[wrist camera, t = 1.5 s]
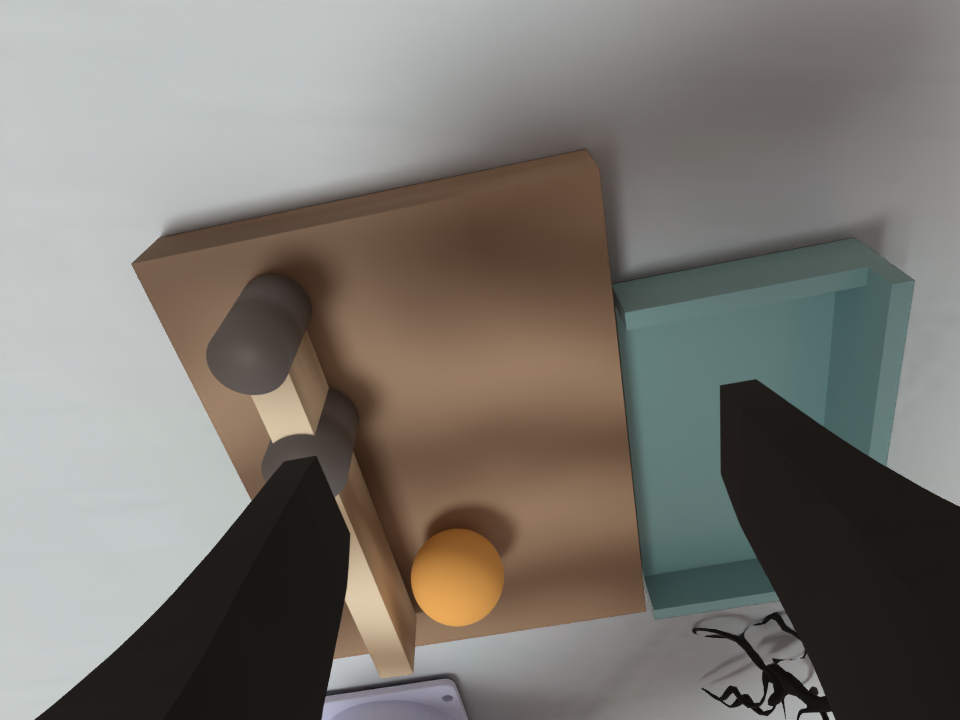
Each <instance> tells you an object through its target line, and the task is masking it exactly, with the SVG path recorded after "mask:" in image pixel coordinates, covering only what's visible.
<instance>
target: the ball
mask: <svg viewBox="0 0 960 720" xmlns="http://www.w3.org/2000/svg"><path fill="white" fill-rule="evenodd" d="M411 585H412V590H413V594H414V597H415V599H416V601H417V603H418V605H419V606H420V608H421V609H422V610H423V611H424V612H425V613H426V614H427V615H428V616H429V617H430V618H432V619H433V620H435V621H437V622H439V623H441V624H444V625H448V626H466V625H470V624H473V623H475V622H477V621H479V620H481V619H483V618H484V617H485V616H486V615H488V614H489V613H490V612H491V610H492V609H493V608H494V607H495V605H496V604H497V602H498V600H499V598H500V596H501V593H502V590H503V585H504V570H503V564H502V561H501V558H500V556H499V554H498V552H497V550H496V549H495V547H494V546H493V545H492V544H491V543H490V542H489V541H488V540H487V539H486V538H485V537H483V536H482V535H480V534H478V533H476V532H474V531H471V530H467V529H449V530H445V531H442V532H440V533H438V534H436V535H434V536H432V537H431V538H430V539H429V540H427V541H426V542H425V543H424V544H423V546H422V547H421V548H420V550H419V551H418V553H417V555H416V557H415V559H414V562H413V566H412V571H411Z"/></svg>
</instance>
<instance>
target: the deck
mask: <svg viewBox="0 0 960 720" xmlns="http://www.w3.org/2000/svg"><path fill="white" fill-rule="evenodd" d="M131 265H132V266H133V268H134V270H135V272H136V274H137V276H138V278H139V280H140V282H141V284H142V286H143V288H144V290H145V292H146V294H147V296H148V298H149V300H150V302H151V304H152V306H153V308H154V310H155V312H156V314H157V316H158V318H159V319H160V321H161V323H162V325H163V327H164V329H165V331H166V333H167V335H168V337H169V339H170V341H171V343H172V345H173V347H174V349H175V351H176V353H177V355H178V357H179V359H180V361H181V363H182V365H183V367H184V369H185V371H186V372H187V374H188V376H189V378H190V380H191V382H192V384H193V386H194V388H195V390H196V392H197V394H198V396H199V398H200V400H201V402H202V404H203V406H204V408H205V410H206V412H207V414H208V416H209V418H210V420H211V422H212V424H213V426H214V427H215V429H216V431H217V433H218V435H219V437H220V439H221V441H222V443H223V445H224V447H225V449H226V451H227V453H228V455H229V457H230V459H231V461H232V463H233V465H234V467H235V469H236V471H237V473H238V475H239V477H240V479H241V480H242V482H243V484H244V486H245V488H246V490H247V492H248V494H249V496H250V498H251V500H253V499H254V497H255V496H256V495H257V494H258V492H259V491H260V490H261V489H262V487H263V486H264V485H265V484H266V482H265V480H264V478H263V476H262V471H261V465H262V461H263V458H264V455H265V453H266V450H267V447H268V445H269V442H270V440H271V438H270V436H269V434H268V431H267V429H266V427H265V425H264V423H263V421H262V418H261V416H260V414H259V412H258V410H257V407H256V405H255V403H254V401H253V399H252V397H251V395H246V394H241V393H238V392H235V391H233V390H231V389H229V388H227V387H225V386H224V385H222V384H221V383H220V382H219V381H218V380H217V379H216V378H215V377H214V375H213V374H212V373H211V371H210V369H209V367H208V364H207V360H206V350H207V346H208V344H209V342H210V340H211V339H212V337H213V336H214V334H215V333H216V331H217V329H218V328H219V326H220V325H221V323H222V322H223V320H224V319H225V317H226V316H227V314H228V312H229V311H230V309H231V308H232V306H233V305H234V303H235V302H236V300H237V298H238V297H239V295H240V294H241V292H242V291H243V289H244V288H245V286H246V285H247V284H248V283H249V282H250V281H251V280H253V279H255V278H257V277H259V276H263V275H279V276H283V277H286V278H289V279H291V280H293V281H294V282H296V283H297V284H298V285H300V286H301V287H302V288H303V290H304V291H305V292H306V294H307V295H308V297H309V299H310V302H311V306H312V314H311V319H310V321H309V324H308V326H307V332H308V334H309V337H310V340H311V342H312V345H313V347H314V350H315V353H316V355H317V358H318V361H319V363H320V366H321V368H322V371H323V374H324V376H325V379H326V381H327V384H328V387H329V388H331V389H334V390H336V391H339V392H340V393H342V394H344V395H345V396H346V397H348V398H349V399H350V400H351V401H352V403H353V404H354V405H355V407H356V409H357V411H358V414H359V426H358V431H357V435H356V440H355V445H354V450H353V452H354V455H355V457H356V460H357V463H358V465H359V468H360V470H361V473H362V476H363V478H364V481H365V483H366V486H367V489H368V491H369V494H370V497H371V499H372V502H373V504H374V507H375V510H376V512H377V515H378V517H379V520H380V523H381V525H382V528H383V530H384V533H385V536H386V538H387V541H388V544H389V546H390V549H391V551H392V554H393V557H394V559H395V562H396V564H397V567H398V570H399V572H400V575H401V578H402V580H403V583H404V585H405V588H406V591H407V593H408V596H409V598H410V601H411V604H412V606H413V609H414V612H415V614H416V617H417V622H416V638H415V647H416V646H423V645H429V644H436V643H442V642H449V641H455V640H462V639H468V638H475V637H482V636H488V635H495V634H501V633H508V632H514V631H521V630H527V629H534V628H541V627H547V626H554V625H560V624H567V623H573V622H580V621H586V620H593V619H600V618H606V617H613V616H619V615H626V614H632V613H639V612H645V611H646V605H645V596H644V587H643V577H642V568H641V558H640V549H639V539H638V530H637V520H636V511H635V501H634V492H633V483H632V473H631V464H630V454H629V445H628V435H627V426H626V416H625V407H624V397H623V388H622V379H621V369H620V360H619V350H618V341H617V331H616V322H615V312H614V303H613V294H612V284H611V275H610V265H609V256H608V246H607V237H606V227H605V218H604V208H603V199H602V190H601V180H600V171H599V167H598V165H597V164H596V162H595V161H594V159H593V158H592V156H591V155H590V153H589V152H588V150H587V149H584V150H579V151H574V152H570V153H565V154H560V155H555V156H550V157H546V158H541V159H536V160H531V161H526V162H522V163H517V164H512V165H507V166H502V167H498V168H493V169H488V170H483V171H478V172H473V173H469V174H464V175H459V176H454V177H449V178H445V179H440V180H435V181H430V182H425V183H421V184H416V185H411V186H406V187H401V188H396V189H392V190H387V191H382V192H377V193H372V194H368V195H363V196H358V197H353V198H348V199H344V200H339V201H334V202H329V203H324V204H320V205H315V206H310V207H305V208H300V209H295V210H291V211H286V212H281V213H276V214H271V215H267V216H262V217H257V218H252V219H247V220H243V221H238V222H233V223H228V224H223V225H219V226H214V227H209V228H204V229H199V230H194V231H190V232H185V233H180V234H175V235H170V236H166V237H161V238H158V239H157V240H156V241H155V242H154V243H153V244H152V245H151V246H150V247H149V248H148V249H147V250H146V251H145V252H143V253H142V254H141V255H140V256H139V257H138V258H137V259H136V260H135V261H134V262H133V263H132V264H131ZM449 529H467V530H471V531H474V532H476V533H478V534H480V535H482V536H483V537H485V538H486V539H487V540H488V541H489V542H490V543H491V544H492V545H493V546H494V547H495V549H496V550H497V552H498V554H499V556H500V558H501V561H502V564H503V570H504V585H503V590H502V593H501V596H500V598H499V600H498V602H497V604H496V605H495V607H494V608H493V609H492V610H491V612H490V613H489V614H488V615H486V616H485V617H484V618H483V619H481V620H479V621H477V622H475V623H473V624H470V625H466V626H448V625H444V624H441V623H439V622H437V621H435V620H433V619H432V618H430V617H429V616H428V615H427V614H426V613H425V612H424V611H423V610H422V609H421V608H420V606H419V605H418V603H417V601H416V599H415V597H414V594H413V590H412V585H411V571H412V566H413V562H414V559H415V557H416V555H417V553H418V551H419V550H420V548H421V547H422V546H423V544H424V543H425V542H426V541H427V540H429V539H430V538H431V537H432V536H434V535H436V534H438V533H440V532H442V531H445V530H449ZM364 654H369V651H368V649H367V647H366V645H365V643H364V640H363V638H362V636H361V634H360V632H359V630H358V627H357V625H356V623H355V621H354V619H353V616H352V614H351V612H350V610H349V608H348V606H347V603H346V601H344V607H343V612H342V617H341V622H340V627H339V632H338V637H337V642H336V647H335V652H334V657H333V659H337V658H344V657H351V656H357V655H364Z"/></svg>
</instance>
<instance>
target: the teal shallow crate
mask: <svg viewBox="0 0 960 720" xmlns="http://www.w3.org/2000/svg"><path fill="white" fill-rule="evenodd" d="M914 282H915V280H914V279H912V278H911V277H909V276H908V275H906V274H905V273H904V272H902V271H901V270H899V269H898V268H897V267H895V266H894V265H892V264H891V263H890V262H888V261H887V260H885V259H884V258H882V257H881V256H880V255H878V254H877V253H875V252H874V251H873V250H871V249H870V248H868V247H867V246H866V245H864V244H863V243H861V242H860V241H858V240H857V239H856V238H851V239H845V240H840V241H835V242H830V243H824V244H819V245H814V246H809V247H804V248H798V249H793V250H788V251H783V252H777V253H772V254H767V255H762V256H757V257H751V258H746V259H741V260H736V261H730V262H725V263H720V264H715V265H710V266H704V267H699V268H694V269H689V270H683V271H678V272H673V273H668V274H663V275H657V276H652V277H647V278H642V279H636V280H631V281H626V282H621V283H616V284H612V294H613V303H614V312H615V322H616V331H617V341H618V350H619V360H620V369H621V379H622V388H623V397H624V407H625V416H626V426H627V435H628V445H629V454H630V464H631V473H632V483H633V492H634V501H635V511H636V520H637V530H638V539H639V549H640V558H641V568H642V577H643V582H644V586H645V589H646V593H647V596H648V599H649V603H650V606H651V609H652V613H653V616H654V620H657V619H663V618H670V617H676V616H683V615H690V614H696V613H703V612H709V611H716V610H723V609H729V608H736V607H742V606H749V605H756V604H762V603H769V602H775V601H780V600H779V598H778V596H777V594H776V593H775V591H774V589H773V587H772V585H771V583H770V581H769V579H768V578H767V576H766V574H765V572H764V570H763V568H762V566H761V564H760V563H759V561H758V559H757V557H756V555H755V553H754V551H753V549H752V547H751V545H750V544H749V542H748V540H747V538H746V536H745V534H744V532H743V530H742V528H741V526H740V524H739V521H738V519H737V516H736V514H735V511H734V509H733V506H732V503H731V501H730V498H729V495H728V493H727V490H726V487H725V484H724V482H723V479H722V476H721V462H720V385H725V384H730V383H736V382H742V381H748V380H753V379H757V380H758V381H760V382H761V383H763V384H764V385H765V386H767V387H768V388H770V389H771V390H772V391H774V392H775V393H777V394H778V395H779V396H781V397H782V398H784V399H785V400H786V401H788V402H789V403H791V404H792V405H794V406H795V407H796V408H798V409H799V410H801V411H802V412H803V413H805V414H806V415H808V416H809V417H811V418H812V419H813V420H815V421H816V422H818V423H819V424H821V425H822V426H823V427H825V428H826V429H828V430H829V431H831V432H832V433H834V434H835V435H837V436H838V437H840V438H841V439H843V440H844V441H846V442H848V443H849V444H851V445H852V446H854V447H855V448H857V449H858V450H860V451H861V452H863V453H865V454H866V455H868V456H870V457H871V458H873V459H874V460H876V461H878V462H879V463H881V464H883V465H884V466H886V464H887V458H888V451H889V445H890V438H891V432H892V425H893V419H894V412H895V406H896V399H897V393H898V386H899V380H900V373H901V367H902V360H903V354H904V347H905V341H906V334H907V328H908V321H909V315H910V308H911V302H912V295H913V289H914Z"/></svg>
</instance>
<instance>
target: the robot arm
mask: <svg viewBox="0 0 960 720" xmlns="http://www.w3.org/2000/svg"><path fill="white" fill-rule="evenodd" d="M720 462H721V476H722V479H723V482H724V484H725V487H726V490H727V493H728V495H729V498H730V501H731V503H732V506H733V509H734V511H735V514H736V516H737V519H738V521H739V524H740V526H741V528H742V530H743V532H744V534H745V536H746V538H747V540H748V542H749V544H750V545H751V547H752V549H753V551H754V553H755V555H756V557H757V559H758V561H759V563H760V564H761V566H762V568H763V570H764V572H765V574H766V576H767V578H768V579H769V581H770V583H771V585H772V587H773V589H774V591H775V593H776V594H777V596H778V598H779V600H780V602H781V604H782V606H783V608H784V609H785V611H786V613H787V615H788V617H789V619H790V621H791V622H792V624H793V626H794V628H795V630H796V632H797V634H798V636H799V637H800V639H801V641H802V643H803V646H804V648H805V650H806V652H807V654H808V656H809V658H810V660H811V662H812V664H813V666H814V669H815V671H816V674H817V676H818V678H819V681H820V683H821V686H822V688H823V690H824V693H825V695H826V698H827V700H828V702H829V705H830V707H831V710H832V712H833V715H834V717H835V719H836V720H960V507H959V506H957V505H955V504H953V503H951V502H949V501H947V500H945V499H943V498H941V497H939V496H937V495H935V494H934V493H932V492H930V491H928V490H926V489H924V488H922V487H921V486H919V485H917V484H915V483H913V482H912V481H910V480H908V479H907V478H905V477H903V476H901V475H900V474H898V473H896V472H895V471H893V470H891V469H889V468H888V467H886V466H884V465H883V464H881V463H879V462H878V461H876V460H874V459H873V458H871V457H870V456H868V455H866V454H865V453H863V452H861V451H860V450H858V449H857V448H855V447H854V446H852V445H851V444H849V443H848V442H846V441H844V440H843V439H841V438H840V437H838V436H837V435H835V434H834V433H832V432H831V431H829V430H828V429H826V428H825V427H823V426H822V425H821V424H819V423H818V422H816V421H815V420H813V419H812V418H811V417H809V416H808V415H806V414H805V413H803V412H802V411H801V410H799V409H798V408H796V407H795V406H794V405H792V404H791V403H789V402H788V401H786V400H785V399H784V398H782V397H781V396H779V395H778V394H777V393H775V392H774V391H772V390H771V389H770V388H768V387H767V386H765V385H764V384H763V383H761V382H760V381H758V380H757V379H753V380H748V381H742V382H736V383H730V384H725V385H720ZM349 554H350V532H349V529H348V527H347V525H346V523H345V520H344V518H343V516H342V513H341V511H340V509H339V506H338V504H337V502H336V500H335V497H334V495H333V493H332V490H331V488H330V486H329V483H328V481H327V479H326V476H325V474H324V472H323V470H322V467H321V465H320V463H319V460H318V458H317V456H311V457H305V458H299V459H294V460H288V461H284V462H283V463H282V464H281V466H280V467H279V468H278V469H277V470H276V471H275V473H274V474H273V475H272V476H271V477H270V479H269V480H268V481H267V482H266V484H265V485H264V486H263V487H262V489H261V490H260V491H259V492H258V494H257V495H256V496H255V497H254V499H253V500H252V501H251V502H250V504H249V505H248V506H247V508H246V509H245V510H244V511H243V513H242V514H241V515H240V516H239V517H238V519H237V520H236V521H235V522H234V524H233V525H232V526H231V527H230V528H229V530H228V531H227V532H226V533H225V535H224V536H223V537H222V538H221V539H220V541H219V542H218V543H217V544H216V546H215V547H214V548H213V549H212V550H211V551H210V553H209V554H208V555H207V556H206V557H205V558H204V559H203V560H202V562H201V563H200V564H199V565H198V566H197V567H196V568H195V569H194V571H193V572H192V573H191V574H190V575H189V576H188V577H187V578H186V580H185V581H184V582H183V583H182V584H181V585H180V586H179V587H178V589H177V590H176V591H175V592H174V593H173V594H172V595H171V596H170V597H169V598H168V600H167V601H166V602H165V603H164V604H163V605H162V606H161V607H160V608H159V609H158V610H157V611H156V612H155V613H154V614H153V615H152V616H151V617H150V618H149V619H148V620H147V621H146V622H145V623H144V624H143V625H142V626H141V627H140V628H139V629H138V630H137V631H136V632H135V633H134V634H133V635H132V636H131V637H129V638H128V639H127V640H126V641H125V642H124V643H123V644H122V645H121V646H120V647H119V648H118V649H117V650H116V651H115V652H114V653H113V654H111V655H110V656H109V657H108V658H107V659H106V660H105V661H104V662H102V663H101V664H100V665H99V666H98V667H97V668H95V669H94V670H93V671H92V672H91V673H90V674H88V675H87V676H86V677H85V678H84V679H83V680H82V681H80V682H79V683H78V684H77V685H76V686H75V687H73V688H72V689H71V690H70V691H69V692H68V693H66V694H65V695H64V696H63V697H62V698H61V699H59V700H58V701H57V702H56V703H55V704H54V705H52V706H51V707H50V708H49V709H47V710H46V711H45V712H44V713H42V714H41V715H40V716H39V717H37V718H36V719H35V720H468V717H467V714H466V711H465V709H464V706H463V703H462V700H461V698H460V695H459V692H458V689H457V687H456V684H455V683H454V681H452V680H450V679H439V680H432V681H425V682H418V683H412V684H405V685H398V686H391V687H385V688H378V689H371V690H365V691H358V692H351V693H344V694H338V695H331V696H326V692H327V687H328V682H329V677H330V672H331V667H332V662H333V657H334V652H335V647H336V642H337V637H338V632H339V627H340V622H341V617H342V612H343V607H344V601H345V596H346V590H347V583H348V570H349Z"/></svg>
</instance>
